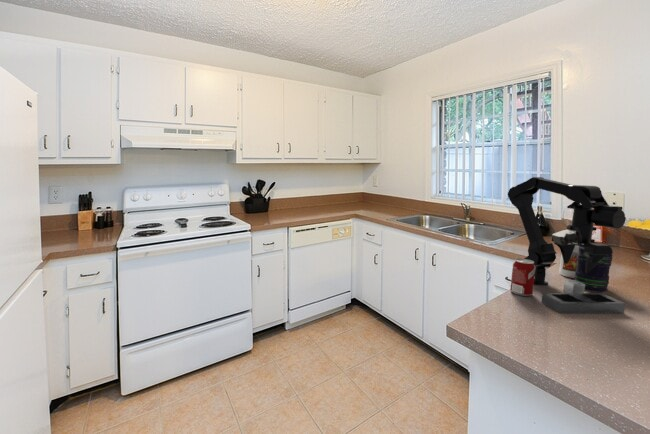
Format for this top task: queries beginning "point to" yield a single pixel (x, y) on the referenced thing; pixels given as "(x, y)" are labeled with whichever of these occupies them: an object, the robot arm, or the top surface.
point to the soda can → (523, 277)
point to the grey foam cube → (573, 286)
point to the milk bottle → (569, 264)
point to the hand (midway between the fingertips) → (576, 267)
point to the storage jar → (593, 273)
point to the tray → (582, 303)
